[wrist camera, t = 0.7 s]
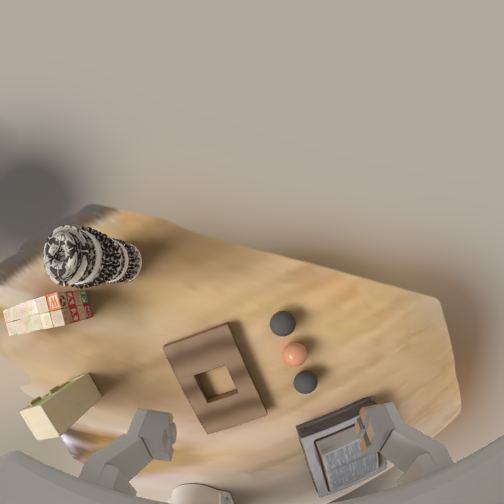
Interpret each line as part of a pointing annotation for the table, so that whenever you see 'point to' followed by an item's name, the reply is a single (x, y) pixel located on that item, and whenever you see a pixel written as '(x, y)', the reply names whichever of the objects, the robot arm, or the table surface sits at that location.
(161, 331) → the table surface
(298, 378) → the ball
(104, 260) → the black white tall cylinder
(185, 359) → the walnut board
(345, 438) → the bible
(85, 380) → the toy refrigerator
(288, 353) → the terracotta ball
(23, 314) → the stack of blocks
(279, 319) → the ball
